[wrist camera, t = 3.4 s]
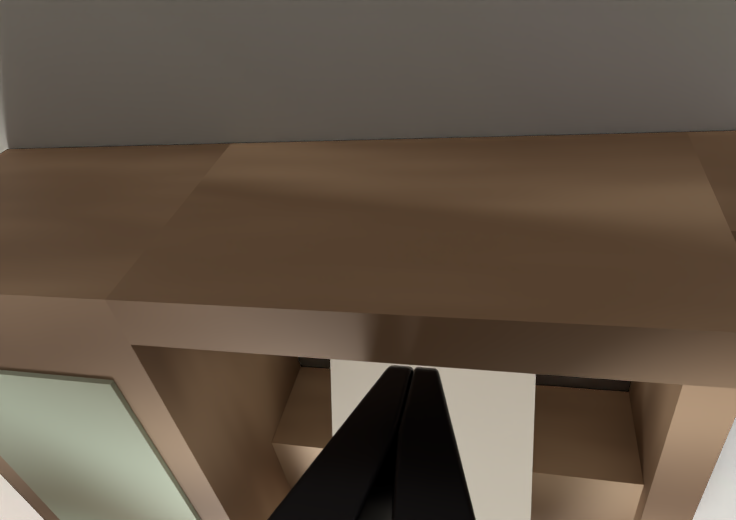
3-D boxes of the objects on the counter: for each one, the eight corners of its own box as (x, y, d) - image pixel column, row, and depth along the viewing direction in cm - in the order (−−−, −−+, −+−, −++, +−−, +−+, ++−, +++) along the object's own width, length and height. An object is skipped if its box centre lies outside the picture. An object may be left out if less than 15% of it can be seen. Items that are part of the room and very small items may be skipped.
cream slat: (521, 678, 15) (521, 776, 12) (367, 648, 16) (341, 733, 13) (535, 247, 13) (539, 267, 10) (359, 243, 14) (327, 261, 11)
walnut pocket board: (628, 539, 19) (652, 727, 16) (200, 481, 23) (136, 619, 19) (749, 129, 10) (884, 346, 6) (6, 149, 14) (-187, 288, 10)
